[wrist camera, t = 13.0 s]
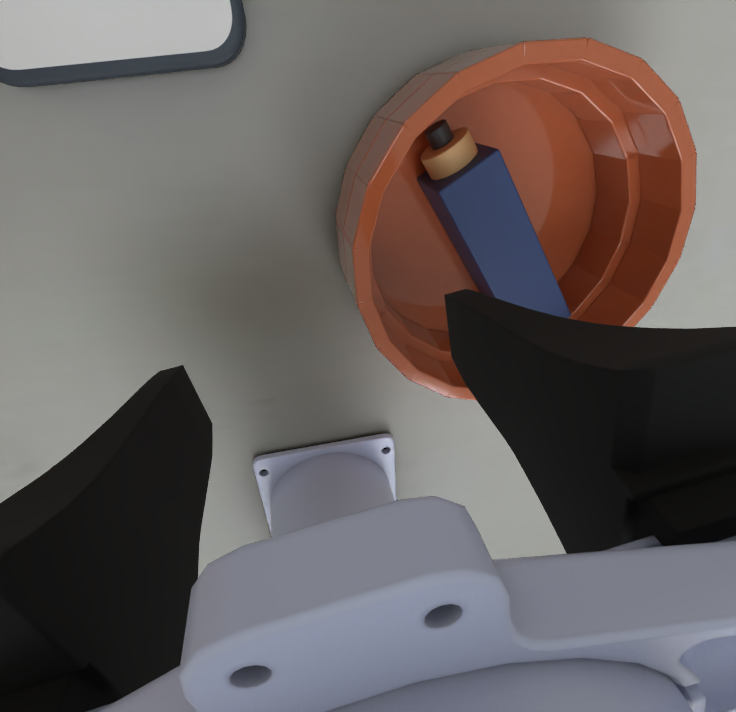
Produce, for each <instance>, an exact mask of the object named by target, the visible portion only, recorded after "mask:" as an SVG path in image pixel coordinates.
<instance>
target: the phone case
mask: <svg viewBox="0 0 736 712" xmlns="http://www.w3.org/2000/svg"><path fill="white" fill-rule="evenodd" d="M245 37H246V20H245V14H244V8H243V3H242V0H0V82H2V83H4V84H7V85H11V86H16V87H35V86H46V85H55V84H65V83H74V82H84V81H93V80H103V79H113V78H122V77H132V76H141V75H151V74H161V73H170V72H180V71H189V70H199V69H208V68H217V67H222V66H225V65H227V64H229V63H230V62H232V61H233V60H234V59H235V58H236V57H237V56H238V54H239V53H240V52H241V49H242V47H243V45H244V42H245Z"/></svg>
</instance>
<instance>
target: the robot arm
mask: <svg viewBox="0 0 736 712" xmlns="http://www.w3.org/2000/svg"><path fill="white" fill-rule="evenodd" d="M444 297H445V306H446V314H447V323H448V331H449V340H450V348H451V357H452V359H453V361H454V363H455V365H456V367H457V369H458V371H459V373H460V375H461V377H462V379H463V381H464V383H465V384H466V386H467V387H468V389H469V390H470V391H471V393H472V394H473V396H474V397H475V398H476V400H477V401H478V403H479V404H480V405H481V407H482V408H483V410H484V411H485V412H486V414H487V415H488V416H489V418H490V419H491V421H492V422H493V423H494V425H495V426H496V428H497V429H498V430H499V432H500V433H501V434H502V436H503V437H504V439H505V440H506V442H507V443H508V445H509V446H510V448H511V449H512V451H513V452H514V454H515V456H516V458H517V459H518V461H519V463H520V465H521V467H522V468H523V470H524V472H525V474H526V476H527V477H528V479H529V481H530V483H531V485H532V487H533V488H534V490H535V492H536V494H537V496H538V498H539V500H540V502H541V504H542V505H543V507H544V509H545V511H546V513H547V515H548V517H549V519H550V521H551V523H552V525H553V527H554V529H555V531H556V533H557V535H558V537H559V539H560V541H561V543H562V545H563V547H564V549H565V551H566V553H567V554H559V555H547V556H534V557H521V558H508V559H496V560H492V558H491V556H490V554H489V552H488V550H487V548H486V546H485V544H484V542H483V540H482V537H481V535H480V533H479V531H478V529H477V527H476V525H475V523H474V522H473V520H472V518H471V517H470V515H469V513H468V511H467V510H466V508H465V506H462V505H460V504H457V503H454V502H451V501H448V500H446V499H443V498H440V497H437V496H428V497H419V498H409V499H400V500H396V478H395V455H394V441H393V438H392V436H391V435H390V434H387V433H384V434H378V435H373V436H367V437H361V438H356V439H350V440H344V441H339V442H333V443H328V444H322V445H316V446H311V447H305V448H299V449H294V450H288V451H282V452H277V453H271V454H266V455H260V456H257V457H256V458H255V459H254V461H253V469H254V473H255V476H256V480H257V484H258V488H259V491H260V495H261V499H262V503H263V507H264V510H265V514H266V518H267V522H268V526H269V529H270V533H271V538H268V539H264V540H261V541H258V542H254V543H251V544H247V545H244V546H242V547H240V548H238V549H236V550H234V551H232V552H230V553H228V554H226V555H224V556H222V557H220V558H218V559H217V560H215V561H213V562H211V563H209V564H208V565H207V566H206V568H205V569H204V570H203V572H202V573H201V575H200V576H199V578H198V559H199V541H200V532H201V524H202V518H203V512H204V506H205V499H206V493H207V487H208V481H209V474H210V468H211V461H212V422H211V420H210V418H209V416H208V414H207V412H206V410H205V408H204V406H203V404H202V402H201V400H200V398H199V396H198V394H197V392H196V390H195V388H194V386H193V384H192V382H191V380H190V378H189V376H188V374H187V372H186V370H185V368H184V366H183V365H181V366H178V367H174V368H170V369H166V370H163V371H160V372H158V373H157V374H156V375H154V376H153V377H152V378H151V379H150V380H149V381H147V382H146V383H145V384H144V385H143V386H142V387H141V388H140V389H139V390H138V391H137V392H136V393H135V394H134V395H133V396H132V397H131V398H130V399H129V400H128V401H127V402H126V403H125V404H124V405H123V406H122V407H121V408H120V409H119V410H118V411H117V412H116V413H115V414H114V415H113V416H112V417H111V418H109V419H108V420H107V421H106V422H105V423H104V424H103V425H102V426H101V427H100V428H99V429H97V430H96V431H95V432H94V433H93V434H92V435H91V436H90V437H89V438H88V439H86V440H85V441H84V442H83V443H82V444H81V445H80V446H78V447H77V448H76V449H75V450H74V451H73V452H71V453H70V454H69V455H68V456H66V457H65V458H64V459H63V460H61V461H60V462H59V463H57V464H56V465H55V466H53V467H52V468H51V469H50V470H48V471H47V472H46V473H44V474H43V475H42V476H40V477H39V478H37V479H36V480H34V481H33V482H31V483H30V484H29V485H27V486H26V487H24V488H23V489H21V490H20V491H18V492H17V493H15V494H14V495H12V496H11V497H9V498H8V499H6V500H5V501H3V502H2V503H0V712H736V327H721V328H698V329H669V328H640V327H627V326H617V325H606V324H599V323H591V322H586V321H580V320H574V319H569V318H564V317H559V316H555V315H551V314H547V313H543V312H539V311H535V310H532V309H529V308H525V307H522V306H519V305H516V304H512V303H509V302H506V301H503V300H500V299H497V298H494V297H491V296H489V295H486V294H482V293H479V292H476V291H473V290H468V289H464V290H460V291H456V292H453V293H449V294H445V295H444ZM385 447H388V448H387V449H383V448H385ZM263 469H266V470H267V471H261V470H263Z"/></svg>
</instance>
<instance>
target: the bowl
mask: <svg viewBox="0 0 736 712" xmlns="http://www.w3.org/2000/svg"><path fill="white" fill-rule="evenodd" d="M443 119H445V120H446V121H447V123H448V125H449V127H450V129H451V131H453V130H455V129H458V128H462V127H466V128H468V129H469V132H470V134H471V136H472V138H473V140H474V142H475V143H478V144H482V145H486V146H489V147H493V148H497V149H499V150H500V152H501V155H502V157H503V159H504V162H505V164H506V166H507V168H508V171H509V173H510V175H511V178H512V180H513V182H514V184H515V187H516V189H517V191H518V194H519V196H520V198H521V201H522V203H523V205H524V207H525V210H526V212H527V214H528V217H529V219H530V221H531V223H532V226H533V228H534V230H535V233H536V235H537V237H538V239H539V242H540V244H541V246H542V249H543V251H544V253H545V255H546V258H547V260H548V262H549V265H550V267H551V269H552V272H553V274H554V276H555V278H556V281H557V283H558V285H559V288H560V290H561V292H562V294H563V297H564V299H565V301H566V304H567V306H568V308H569V310H570V313H571V316H570V317H569V319H574V320H580V321H586V322H591V323H599V324H606V325H617V326H627V327H634V326H635V325H636V324H637V323H638V322H639V321H640V320H641V319H642V318H643V317H644V315H645V314H646V313H647V312H648V311H649V310H650V309H651V306H653V305H654V303H655V301H656V300H657V298H658V296H659V294H660V293H661V291H662V289H663V287H664V286H665V284H666V282H667V280H668V279H669V277H670V275H671V274H672V272H673V270H674V268H675V267H676V265H677V263H678V261H679V259H680V257H681V254H682V250H683V247H684V244H685V240H686V237H687V234H688V230H689V227H690V224H691V220H692V217H693V214H694V210H695V205H696V160H697V153H696V152H695V151H696V148H695V145H694V142H693V139H692V136H691V133H690V130H689V127H688V124H687V121H686V118H685V115H684V112H683V109H682V106H681V103H680V101H679V98H678V97H677V96H676V95H675V94H674V93H673V92H672V90H671V89H670V88H669V87H668V86H667V85H666V84H665V83H664V82H663V81H662V79H661V78H660V77H659V76H658V75H657V74H656V73H655V72H654V71H653V69H652V68H651V67H650V66H649V65H648V64H647V63H646V62H645V61H644V60H643V59H642V58H640V57H638V56H635V55H633V54H630V53H628V52H625V51H622V50H620V49H617V48H615V47H612V46H610V45H607V44H604V43H602V42H599V41H597V40H594V39H592V38H586V37H581V38H566V39H550V40H535V41H523V42H517V43H511V44H505V45H499V46H494V47H488V48H482V49H476V50H470V51H466V52H464V53H461V54H459V55H457V56H455V57H453V58H451V59H449V60H447V61H444V62H442V63H440V64H438V65H436V66H434V67H432V68H429V69H427V70H425V71H423V72H421V73H419V74H417V75H416V76H414V77H413V78H412V79H411V80H410V81H409V82H408V83H407V84H406V85H405V86H404V87H403V88H402V89H401V90H400V91H399V92H398V93H396V94H395V95H394V96H393V97H392V98H391V99H390V100H389V101H388V102H387V103H386V104H385V105H384V106H383V107H382V108H381V109H380V110H379V111H378V112H377V113H376V114H375V116H374V117H373V118H372V120H371V122H370V123H369V125H368V127H367V129H366V131H365V132H364V134H363V136H362V138H361V140H360V141H359V143H358V145H357V147H356V149H355V150H354V152H353V154H352V156H351V158H350V160H349V161H348V163H347V166H346V169H345V174H344V178H343V183H342V188H341V192H340V197H339V202H338V207H337V211H336V229H337V239H338V249H339V259H340V266H341V268H342V270H343V273H344V275H345V278H346V280H347V282H348V285H349V287H350V290H351V292H352V294H353V297H354V299H355V302H356V304H357V306H358V309H359V311H360V313H361V315H362V317H363V320H364V322H365V324H366V326H367V328H368V331H369V333H370V335H371V337H372V339H373V341H374V344H375V346H376V347H377V349H378V350H379V351H380V352H381V353H382V354H383V355H384V356H385V357H386V358H387V359H388V360H389V361H390V362H391V363H392V364H393V365H394V366H395V367H396V368H397V369H398V370H399V371H400V372H401V373H402V374H403V375H404V376H405V377H406V378H407V379H409V380H411V381H413V382H415V383H417V384H419V385H422V386H424V387H426V388H428V389H430V390H433V391H435V392H437V393H439V394H442V395H444V396H446V397H449V398H459V399H469V400H476V398H475V397H474V396H473V394H472V393H471V391H470V390H469V389H468V387H467V386H466V384H465V383H464V381H463V379H462V377H461V375H460V373H459V371H458V369H457V367H456V365H455V363H454V361H453V359H452V357H451V348H450V340H449V331H448V323H447V314H446V306H445V297H444V295H445V294H449V293H453V292H456V291H460V290H464V289H468V290H473V291H476V292H479V290H478V288H477V287H476V285H475V283H474V281H473V279H472V278H471V276H470V274H469V272H468V271H467V269H466V267H465V265H464V263H463V262H462V260H461V258H460V256H459V255H458V253H457V251H456V249H455V247H454V246H453V244H452V242H451V240H450V238H449V237H448V235H447V233H446V231H445V230H444V228H443V226H442V224H441V222H440V221H439V219H438V217H437V215H436V214H435V212H434V210H433V208H432V206H431V205H430V203H429V201H428V199H427V197H426V196H425V194H424V192H423V190H422V189H421V187H420V185H419V183H418V181H417V178H418V177H419V176H420V175H421V174H423V173H424V172H426V171H427V170H426V168H425V167H424V165H423V163H422V161H421V155H422V153H423V152H424V151H425V149H426V148H427V147H428V146H430V144H429V142H428V140H427V138H426V136H425V131H426V130H427V129H428V128H429V127H430V126H431V125H433V124H434V123H436V122H438V121H440V120H443ZM479 293H480V292H479Z"/></svg>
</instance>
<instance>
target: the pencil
mask: <svg viewBox="0 0 736 712" xmlns="http://www.w3.org/2000/svg"><path fill="white" fill-rule="evenodd" d="M425 136H426V138H427V140H428V142H429V144H430V146H428V147H427V148H426V149H425V151H424V152H423V153H422V155H421V161H422V163H423V165H424V167H425V168H426V170H427V171H426V172H424V173H423V174H421V175H420V176H419V177H418V178H417V181H418V183H419V185H420V187H421V189H422V190H423V192H424V194H425V196H426V197H427V199H428V201H429V203H430V205H431V206H432V208H433V210H434V212H435V214H436V215H437V217H438V219H439V221H440V222H441V224H442V226H443V228H444V230H445V231H446V233H447V235H448V237H449V238H450V240H451V242H452V244H453V246H454V247H455V249H456V251H457V253H458V255H459V256H460V258H461V260H462V262H463V263H464V265H465V267H466V269H467V271H468V272H469V274H470V276H471V278H472V279H473V281H474V283H475V285H476V287H477V288H478V290H479V292H480V293H482V294H486V295H489V296H491V297H494V298H497V299H500V300H503V301H506V302H509V303H512V304H516V305H519V306H522V307H525V308H529V309H532V310H535V311H539V312H543V313H547V314H551V315H555V316H559V317H564V318H569V317H570V316H571V313H570V310H569V308H568V306H567V304H566V301H565V299H564V297H563V294H562V292H561V290H560V288H559V285H558V283H557V281H556V278H555V276H554V274H553V272H552V269H551V267H550V265H549V262H548V260H547V258H546V255H545V253H544V251H543V249H542V246H541V244H540V242H539V239H538V237H537V235H536V233H535V230H534V228H533V226H532V223H531V221H530V219H529V217H528V214H527V212H526V210H525V207H524V205H523V203H522V201H521V198H520V196H519V194H518V191H517V189H516V187H515V184H514V182H513V180H512V178H511V175H510V173H509V171H508V168H507V166H506V164H505V162H504V159H503V157H502V155H501V152H500V150H499V149H497V148H493V147H489V146H486V145H482V144H478V143H475V142H474V140H473V138H472V136H471V134H470V132H469V129H468V128H466V127H462V128H458V129H455V130H453V131H451V129H450V127H449V125H448V123H447V121H446V120H445V119H443V120H440V121H438V122H436V123H434V124H433V125H431V126H430V127H429V128H428V129H427V130H426V131H425Z"/></svg>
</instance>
